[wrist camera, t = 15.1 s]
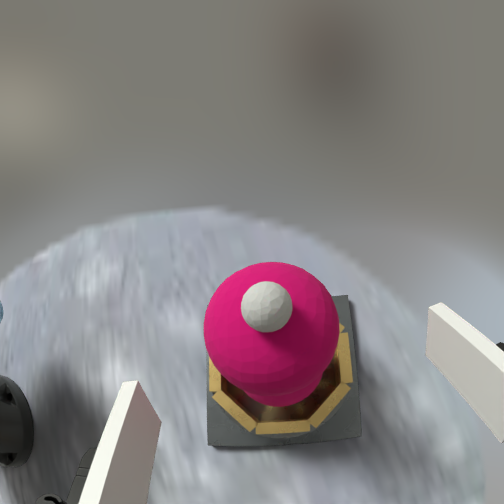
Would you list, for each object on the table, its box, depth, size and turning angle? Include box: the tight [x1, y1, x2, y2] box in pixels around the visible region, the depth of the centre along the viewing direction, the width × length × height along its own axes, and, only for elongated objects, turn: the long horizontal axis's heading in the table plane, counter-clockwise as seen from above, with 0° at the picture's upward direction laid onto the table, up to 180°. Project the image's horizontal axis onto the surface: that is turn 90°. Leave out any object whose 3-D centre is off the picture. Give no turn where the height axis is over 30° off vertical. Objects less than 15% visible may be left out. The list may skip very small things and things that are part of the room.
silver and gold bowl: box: [207, 295, 361, 446], centre depth 29 cm, size 16×16×8 cm
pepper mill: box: [204, 262, 340, 407], centre depth 19 cm, size 7×7×20 cm
